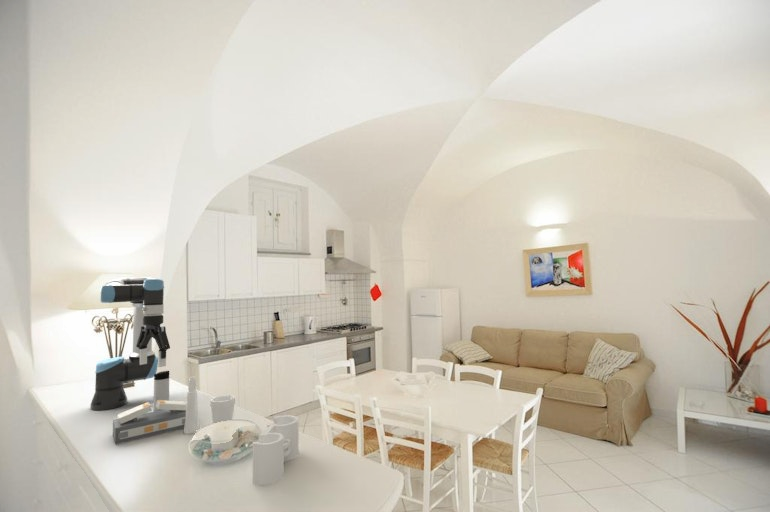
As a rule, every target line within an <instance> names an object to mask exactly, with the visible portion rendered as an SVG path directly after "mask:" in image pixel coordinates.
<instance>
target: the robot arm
mask: <svg viewBox="0 0 770 512" xmlns="http://www.w3.org/2000/svg"><path fill="white" fill-rule="evenodd" d="M164 290H165V285H164V280H163V279H161V278H154V277H120V278H116V279H112V280H109V281H107V282H106V283H104V285H102V286H100V296H99V297H100V300H99V301H100V303H104V304H107V303H109V304H112V303H114V304H115V303H126V302H129V303H130V305H132V307H133V324H132V325H133V326H132V327H133V330H132V352H131V353H129V355H128V358H126V359H125V356H115V357H112V358H111V357H110V358H106V359H103V360H100V361H99V362H98V363H96V366H95V371H94V374H95V388H94V389H95V390H94V391H95V392H94V394H93V397H92V400H91V402H90V410H92V411H104V410H111V409H115V408H119V407H122V406H124V405H127V403H128V397H127V395H126V390H125V389H124V384H125V383H129V382H137V381H142V380H144V381H145V380H149V379H154V374H155V373H156V374H157V370H158V368H162V367H166V366H167V351H168V350H169V349H171V347H170V346H171V345H170V342H169V339H168V338H169V337H168V336H167V332H166V325H165V326H161V325H162V324H163V323H164V315H163V314H165V313H164V294H165V293H164ZM153 339H154V340H155V343H156V344H157V345H156V346H158V349H159V350H158V355H156V353H155V351H153V347H152V346H153Z"/></svg>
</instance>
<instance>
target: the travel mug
mask: <svg viewBox="0 0 770 512" xmlns="http://www.w3.org/2000/svg"><path fill="white" fill-rule="evenodd" d="M157 400H166V401H170V370H163V371H159V372H156V373H155V374H154V377H153V410H152V412H154V411H159V410H160V409H158V408H157V407H156V403H157Z"/></svg>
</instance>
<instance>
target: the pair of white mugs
mask: <svg viewBox="0 0 770 512" xmlns="http://www.w3.org/2000/svg"><path fill="white" fill-rule="evenodd" d="M266 425H267V428H266V430H265V431H264V432H263V433H260V434H259V441H253V442H252V485H258V486H261V487H262V486H272V485H275V484H277V483H279V482H281V481H282V480H283V479H284V476H285V475H284V474H285V470H284V469H285V467H284V465H285V462H290V461H292V460H295V458H297V457H298V456H299V453H300V450H299V448H300V447H299V445H300V444H299V443H300V442H299V440H300V439H299V435H300V434H299V433H300V432H299V417H298V416H296V415H291V414H290V415H289V414H287V415H284V414H283V415H274V416H273V423H268V424H266Z"/></svg>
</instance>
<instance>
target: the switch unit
mask: <svg viewBox="0 0 770 512" xmlns="http://www.w3.org/2000/svg"><path fill="white" fill-rule="evenodd" d="M185 419H186V410H159V411H154V412H153V411H150V412H148V413H145V414H143V415H141V416H139V417H136V418H134V419H132V420H129V421H127V422H125V423H122V424H120V422H119V419H118V418H116V419H112V437H113V443H114V444H115V445H119V444H123V443H127V442H131V441H134V440H140V439H144V438H147V437H151V436H152V437H153V436H156V435H160V434H165V433H169V432H172V431H177V430H181V429H184V427H185Z"/></svg>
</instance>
